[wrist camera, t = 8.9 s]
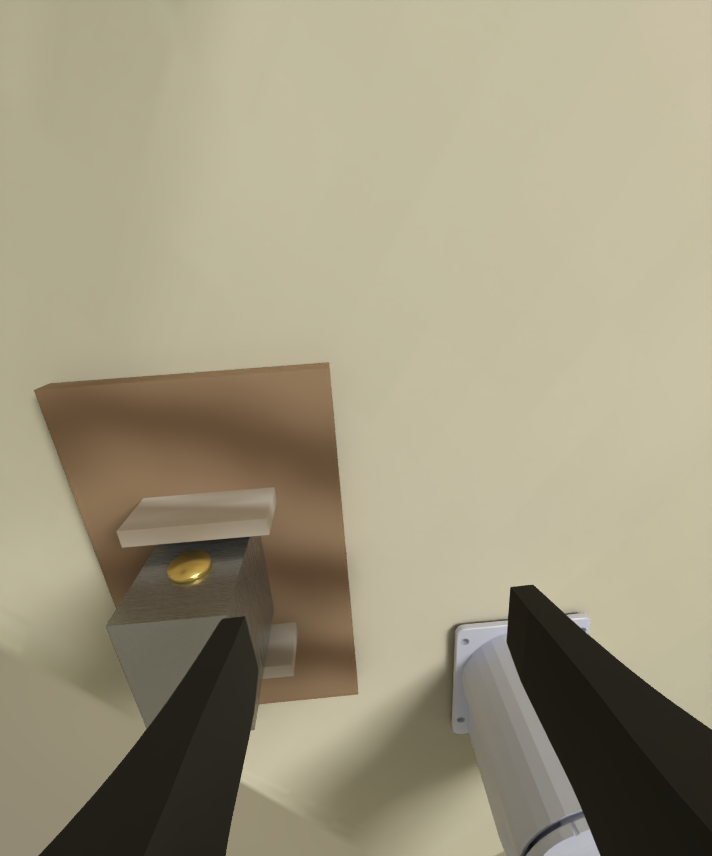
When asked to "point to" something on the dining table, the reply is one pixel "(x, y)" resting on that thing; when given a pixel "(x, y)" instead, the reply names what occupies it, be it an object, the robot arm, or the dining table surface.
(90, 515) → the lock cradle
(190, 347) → the dining table surface
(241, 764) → the robot arm
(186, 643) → the block
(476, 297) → the dining table surface
